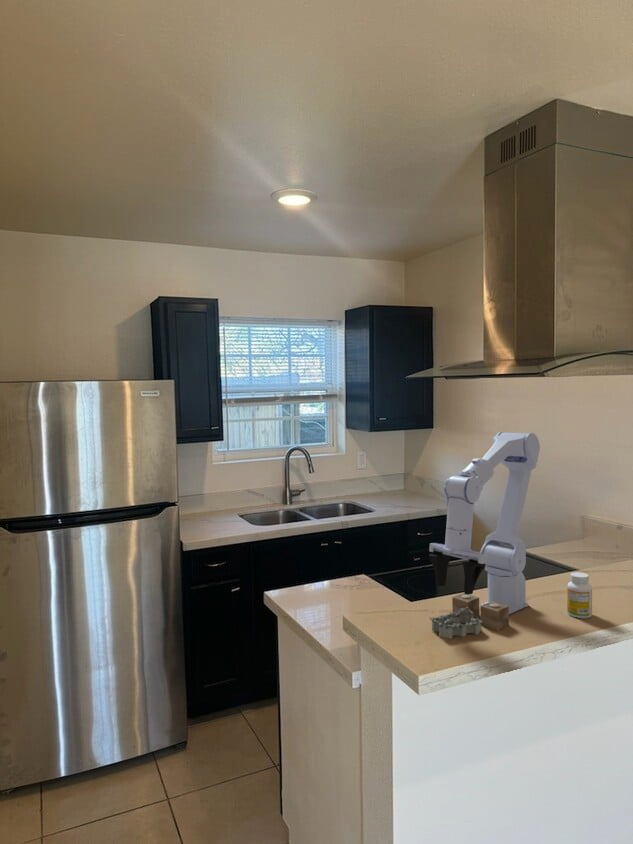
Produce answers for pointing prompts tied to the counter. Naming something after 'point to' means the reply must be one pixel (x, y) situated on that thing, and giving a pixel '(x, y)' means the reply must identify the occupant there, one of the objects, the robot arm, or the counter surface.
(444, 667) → the counter surface
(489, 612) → the dotted block
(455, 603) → the dotted block
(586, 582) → the supplement bottle
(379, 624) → the counter surface
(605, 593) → the counter surface
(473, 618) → the egg carton
